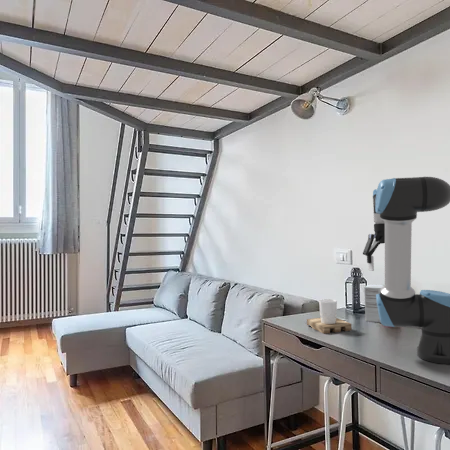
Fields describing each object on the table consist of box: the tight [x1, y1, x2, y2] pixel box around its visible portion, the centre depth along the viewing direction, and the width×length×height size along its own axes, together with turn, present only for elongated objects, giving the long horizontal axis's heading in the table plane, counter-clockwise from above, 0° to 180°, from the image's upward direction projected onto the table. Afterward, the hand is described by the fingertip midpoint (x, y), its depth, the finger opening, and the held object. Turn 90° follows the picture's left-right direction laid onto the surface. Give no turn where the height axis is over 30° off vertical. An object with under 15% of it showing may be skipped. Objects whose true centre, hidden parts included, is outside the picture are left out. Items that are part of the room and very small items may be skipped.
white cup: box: [318, 298, 338, 324], centre depth 188 cm, size 8×8×10 cm
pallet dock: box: [306, 317, 353, 335], centre depth 190 cm, size 16×14×3 cm
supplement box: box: [363, 283, 385, 323], centre depth 202 cm, size 10×9×17 cm
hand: (384, 269), depth 186 cm, fingers open, 13 cm apart
